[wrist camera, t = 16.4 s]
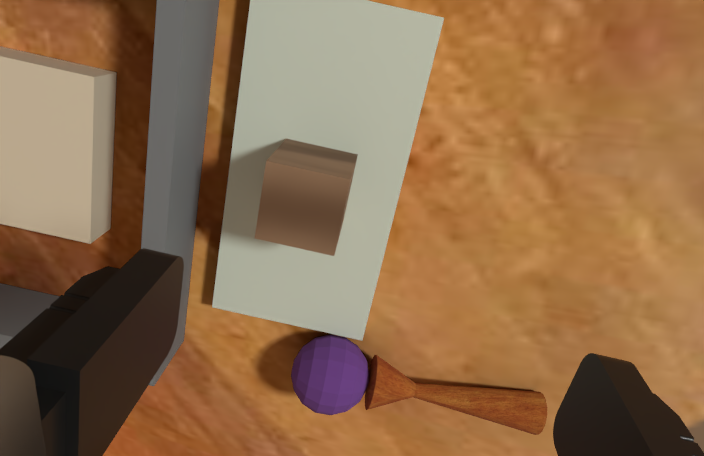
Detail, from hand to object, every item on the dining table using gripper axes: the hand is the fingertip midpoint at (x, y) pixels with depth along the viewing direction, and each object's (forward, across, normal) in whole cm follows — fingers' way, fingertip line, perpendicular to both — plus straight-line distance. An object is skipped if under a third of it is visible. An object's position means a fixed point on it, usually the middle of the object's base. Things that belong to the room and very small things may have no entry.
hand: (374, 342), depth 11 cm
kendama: (+28, -7, +21) cm, 36 cm away
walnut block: (+27, +4, +6) cm, 28 cm away
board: (+28, +4, +6) cm, 29 cm away
